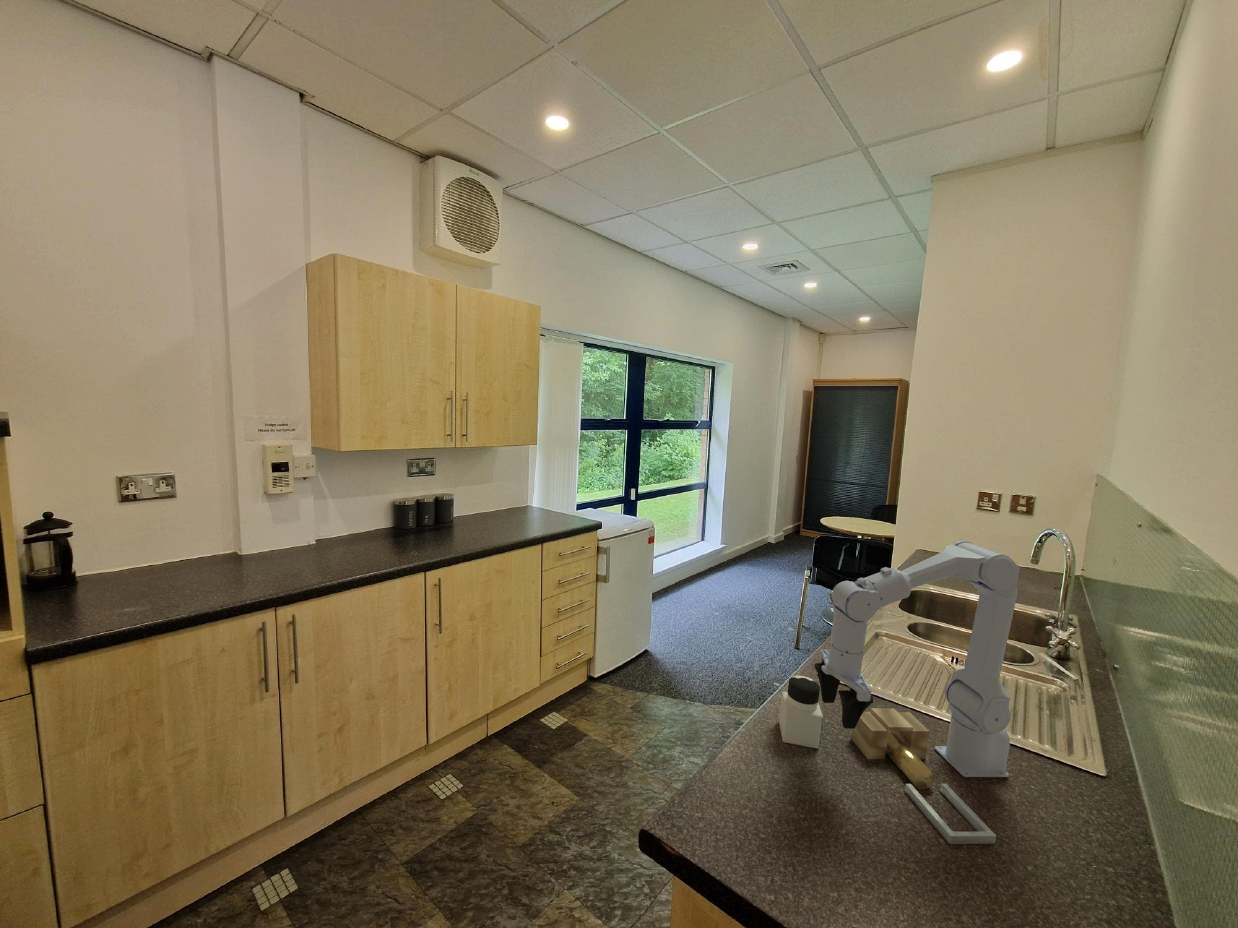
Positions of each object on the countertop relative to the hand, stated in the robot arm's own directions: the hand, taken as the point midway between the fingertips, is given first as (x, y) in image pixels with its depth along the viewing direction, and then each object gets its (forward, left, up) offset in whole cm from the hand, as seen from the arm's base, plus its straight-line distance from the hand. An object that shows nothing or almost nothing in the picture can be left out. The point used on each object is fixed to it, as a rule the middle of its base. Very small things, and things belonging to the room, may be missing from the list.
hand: (838, 714), depth 94 cm
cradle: (-14, +12, -10) cm, 21 cm away
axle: (-14, +1, -10) cm, 17 cm away
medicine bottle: (+3, -8, -10) cm, 13 cm away
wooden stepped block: (-14, -4, -10) cm, 18 cm away
